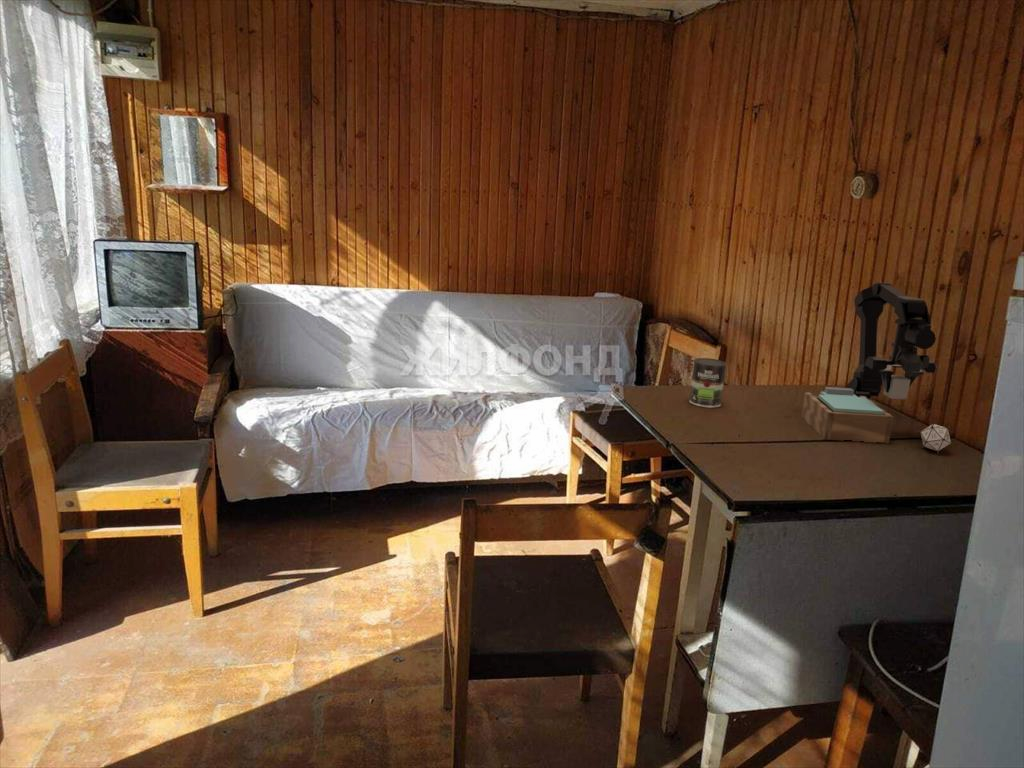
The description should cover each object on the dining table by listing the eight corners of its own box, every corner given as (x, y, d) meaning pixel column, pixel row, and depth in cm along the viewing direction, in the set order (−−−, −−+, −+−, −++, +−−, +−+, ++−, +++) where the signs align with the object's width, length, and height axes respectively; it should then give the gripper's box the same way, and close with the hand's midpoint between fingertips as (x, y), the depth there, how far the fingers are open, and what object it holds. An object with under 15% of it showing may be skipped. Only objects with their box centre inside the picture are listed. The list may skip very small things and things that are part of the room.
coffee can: (720, 409, 251) (726, 367, 247) (687, 405, 254) (692, 363, 250) (721, 401, 261) (727, 360, 257) (690, 397, 263) (695, 356, 260)
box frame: (801, 416, 248) (805, 392, 246) (860, 420, 248) (864, 396, 246) (824, 439, 227) (828, 413, 225) (888, 443, 227) (893, 417, 225)
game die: (924, 460, 226) (919, 427, 229) (957, 456, 221) (952, 423, 225) (918, 452, 219) (913, 418, 223) (953, 448, 214) (947, 413, 218)
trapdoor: (814, 394, 245) (815, 386, 244) (859, 396, 244) (860, 388, 243) (834, 411, 227) (835, 402, 226) (883, 414, 227) (884, 405, 226)
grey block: (883, 393, 236) (886, 374, 235) (899, 394, 236) (902, 375, 235) (890, 398, 232) (894, 378, 230) (906, 399, 232) (910, 379, 230)
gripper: (885, 345, 222) (875, 398, 226) (951, 349, 222) (940, 402, 226) (868, 337, 233) (860, 388, 237) (931, 340, 233) (921, 391, 237)
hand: (895, 392), depth 234 cm, fingers closed on grey block, 5 cm apart
